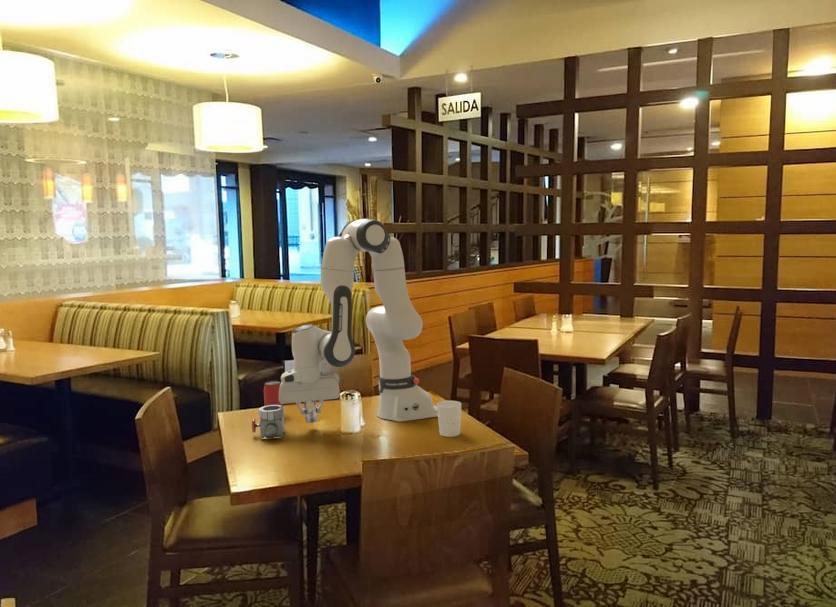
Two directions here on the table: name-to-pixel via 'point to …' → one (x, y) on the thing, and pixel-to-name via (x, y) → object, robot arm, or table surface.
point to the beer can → (271, 393)
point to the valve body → (270, 421)
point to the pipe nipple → (310, 411)
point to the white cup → (449, 418)
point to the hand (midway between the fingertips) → (311, 413)
